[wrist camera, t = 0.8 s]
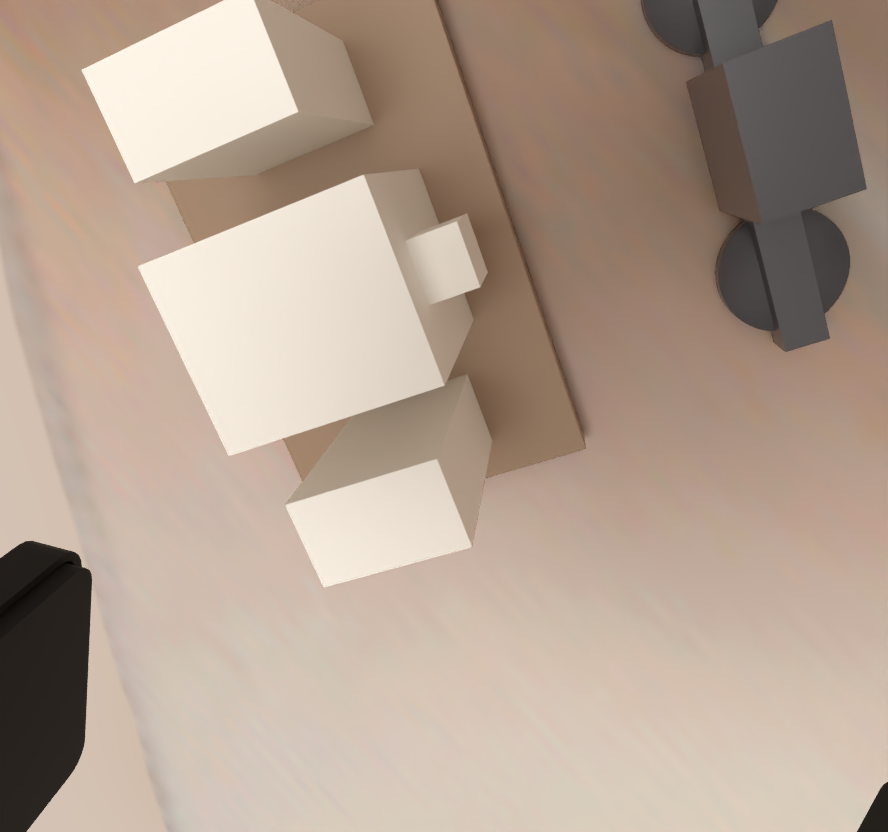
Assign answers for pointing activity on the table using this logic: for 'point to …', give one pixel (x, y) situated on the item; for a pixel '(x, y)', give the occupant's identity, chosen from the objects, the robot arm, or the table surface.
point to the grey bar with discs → (770, 158)
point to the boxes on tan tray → (343, 266)
